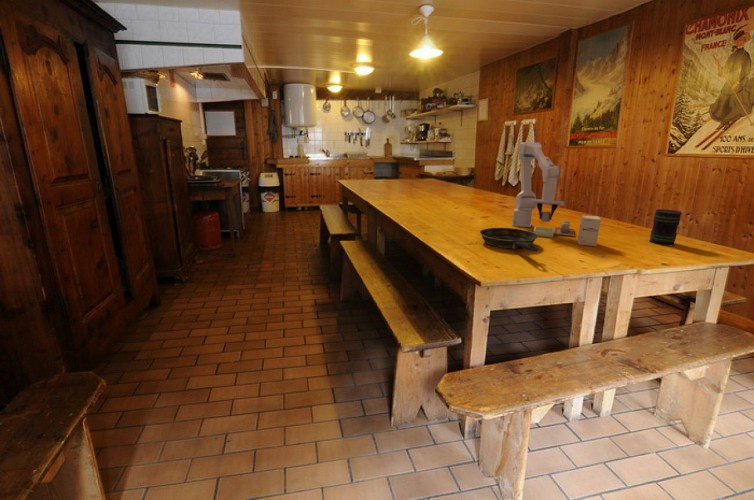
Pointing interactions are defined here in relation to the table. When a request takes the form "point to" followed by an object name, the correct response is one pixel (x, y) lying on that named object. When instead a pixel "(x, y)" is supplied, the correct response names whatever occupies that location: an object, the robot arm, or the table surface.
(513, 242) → the frying pan
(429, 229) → the table surface
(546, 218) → the stone front
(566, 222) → the stone back
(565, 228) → the stone mid
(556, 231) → the shallow brown tray
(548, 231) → the bin
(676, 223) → the storage jar
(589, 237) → the supplement box
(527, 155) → the robot arm
